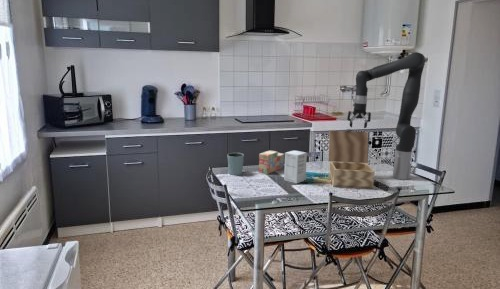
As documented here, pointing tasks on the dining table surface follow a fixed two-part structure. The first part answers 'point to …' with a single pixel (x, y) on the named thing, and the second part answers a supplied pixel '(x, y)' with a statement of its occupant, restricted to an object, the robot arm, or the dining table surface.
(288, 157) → the supplement box
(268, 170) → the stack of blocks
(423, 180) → the dining table surface
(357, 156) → the box lid
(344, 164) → the oak box
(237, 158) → the green cup
